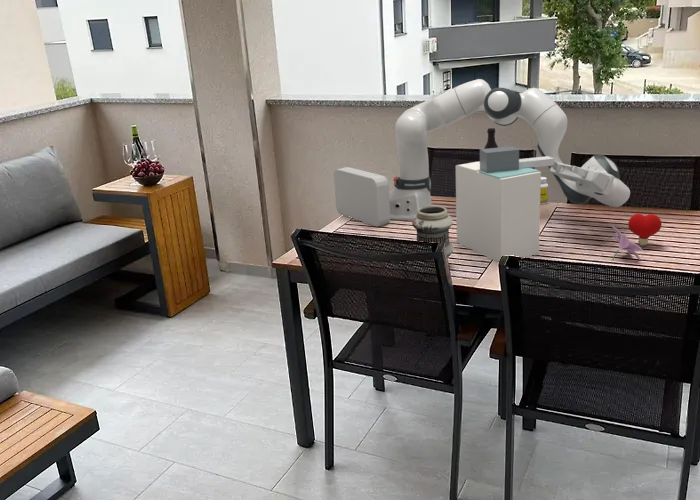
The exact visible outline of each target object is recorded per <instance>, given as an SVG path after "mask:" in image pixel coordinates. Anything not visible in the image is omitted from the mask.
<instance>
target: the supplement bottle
mask: <svg viewBox="0 0 700 500" xmlns="http://www.w3.org/2000/svg"><path fill="white" fill-rule="evenodd" d="M547 180H548V178H547V177H545V176H541V191H540V205H546V204H548V202H549V184H548V183H547Z"/></svg>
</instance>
